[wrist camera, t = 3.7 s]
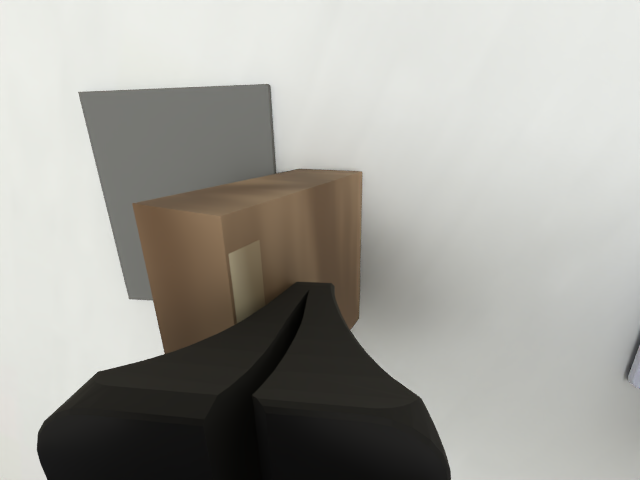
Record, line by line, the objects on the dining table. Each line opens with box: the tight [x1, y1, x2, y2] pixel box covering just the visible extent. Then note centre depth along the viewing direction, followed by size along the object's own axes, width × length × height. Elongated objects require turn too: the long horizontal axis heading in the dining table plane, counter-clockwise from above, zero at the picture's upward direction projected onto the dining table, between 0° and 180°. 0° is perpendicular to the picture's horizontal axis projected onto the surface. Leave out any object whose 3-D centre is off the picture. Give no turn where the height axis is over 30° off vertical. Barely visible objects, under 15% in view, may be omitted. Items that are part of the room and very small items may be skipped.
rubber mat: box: [78, 84, 276, 300], centre depth 18 cm, size 10×12×1 cm
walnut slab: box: [132, 169, 362, 354], centre depth 13 cm, size 4×8×9 cm, turn 1°
